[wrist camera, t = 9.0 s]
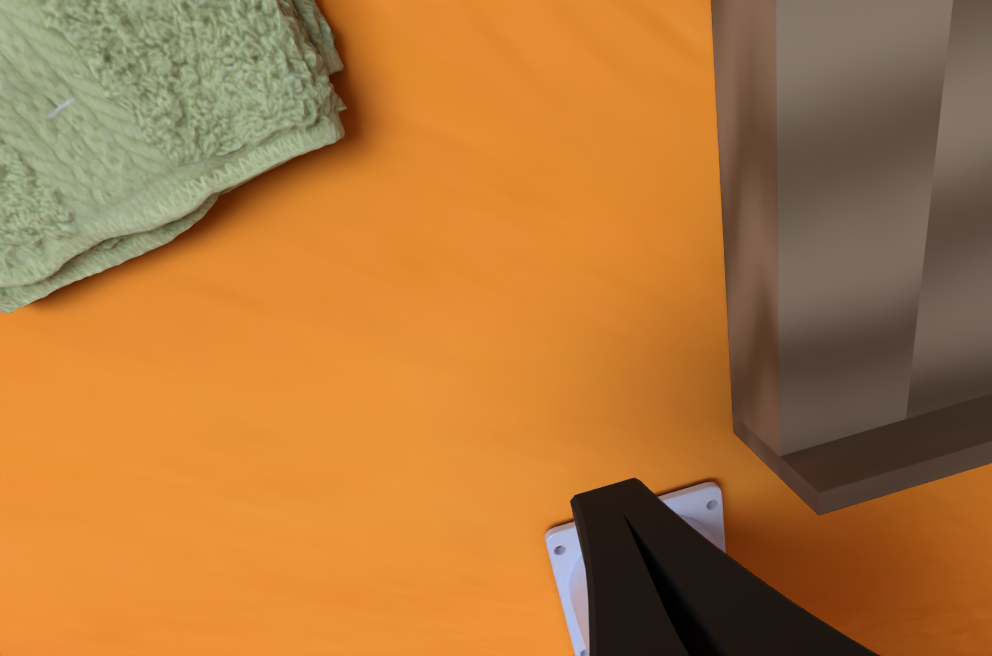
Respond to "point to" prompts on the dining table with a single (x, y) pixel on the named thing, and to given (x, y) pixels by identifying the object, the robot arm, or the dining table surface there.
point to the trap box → (857, 238)
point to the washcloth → (145, 122)
